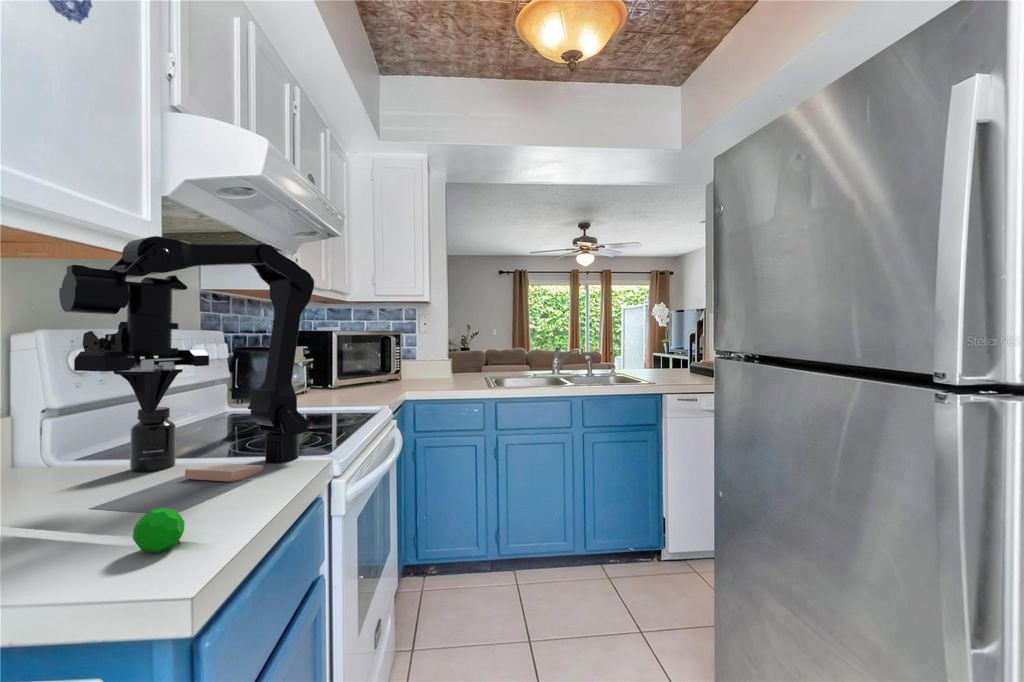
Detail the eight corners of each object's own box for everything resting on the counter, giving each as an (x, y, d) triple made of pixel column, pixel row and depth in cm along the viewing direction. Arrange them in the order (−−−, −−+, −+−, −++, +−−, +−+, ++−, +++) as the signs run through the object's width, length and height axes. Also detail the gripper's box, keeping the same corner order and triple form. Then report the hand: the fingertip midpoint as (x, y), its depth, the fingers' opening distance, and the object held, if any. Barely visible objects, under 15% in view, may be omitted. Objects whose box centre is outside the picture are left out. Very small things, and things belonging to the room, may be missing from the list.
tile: (184, 478, 82) (219, 471, 90) (230, 481, 80) (262, 474, 88) (185, 469, 82) (220, 463, 90) (231, 471, 80) (263, 465, 88)
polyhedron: (146, 542, 59) (146, 504, 59) (191, 539, 60) (191, 501, 60) (124, 561, 54) (124, 520, 54) (172, 557, 55) (172, 516, 55)
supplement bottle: (147, 478, 85) (146, 412, 85) (121, 475, 87) (120, 410, 87) (184, 468, 92) (184, 406, 92) (159, 465, 94) (158, 405, 94)
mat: (182, 480, 84) (182, 476, 84) (253, 484, 82) (253, 480, 82) (88, 514, 68) (88, 508, 68) (173, 520, 66) (173, 514, 66)
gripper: (156, 318, 86) (155, 404, 86) (41, 312, 68) (40, 421, 68) (211, 319, 85) (210, 406, 85) (109, 312, 66) (107, 424, 66)
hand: (148, 413), depth 76 cm, fingers closed
